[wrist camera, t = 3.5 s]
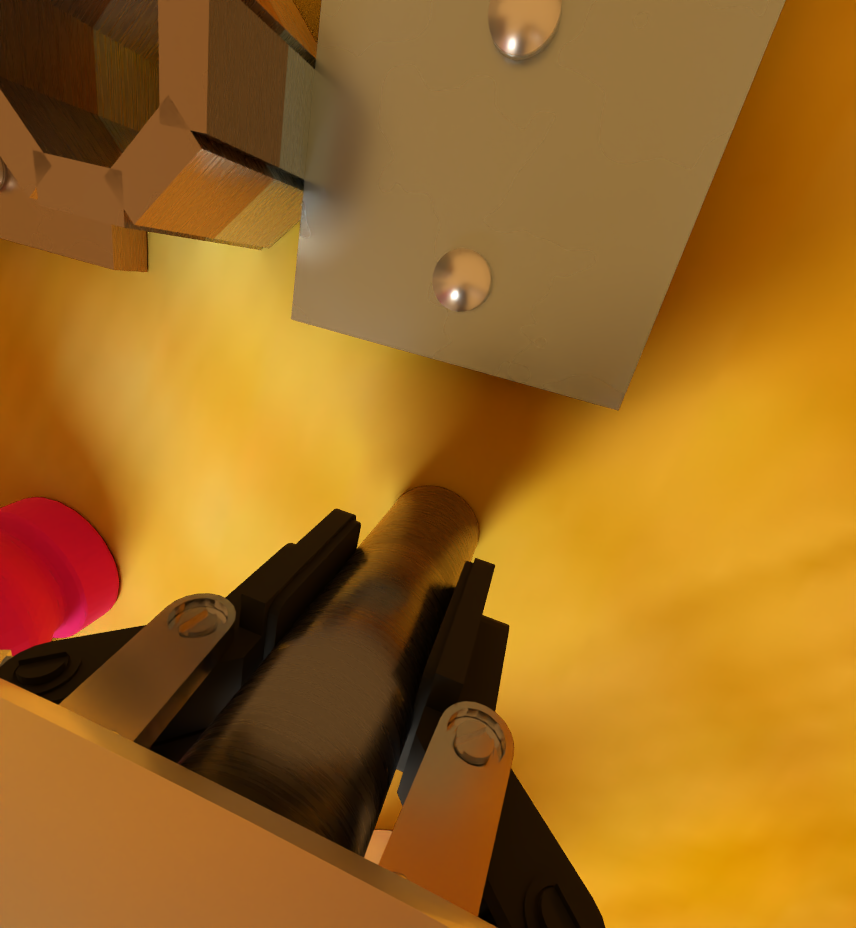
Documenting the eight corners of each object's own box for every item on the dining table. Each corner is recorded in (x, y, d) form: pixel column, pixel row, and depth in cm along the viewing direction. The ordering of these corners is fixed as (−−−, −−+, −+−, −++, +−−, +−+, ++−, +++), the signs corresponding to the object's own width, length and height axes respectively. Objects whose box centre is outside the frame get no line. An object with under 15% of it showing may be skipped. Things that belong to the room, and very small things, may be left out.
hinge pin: (489, 503, 14) (351, 877, 5) (465, 580, 15) (317, 995, 6) (400, 473, 14) (126, 762, 5) (383, 549, 16) (135, 892, 7)
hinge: (793, -51, 9) (1016, -388, 4) (613, 400, 12) (640, 453, 8) (-131, -144, 13) (-473, -364, 8) (-62, 214, 16) (-280, 184, 12)
